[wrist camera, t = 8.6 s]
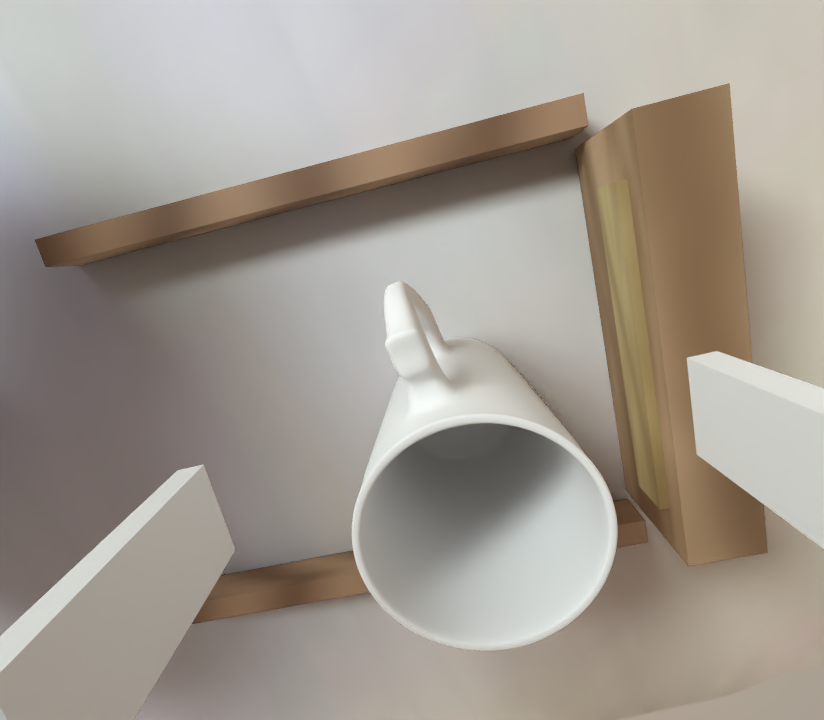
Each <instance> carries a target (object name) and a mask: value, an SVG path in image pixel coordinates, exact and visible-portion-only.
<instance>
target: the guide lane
mask: <svg viewBox="0 0 824 720" xmlns="http://www.w3.org/2000/svg"><path fill="white" fill-rule="evenodd" d="M587 126H588V120H587V113H586V107H585V100H584V93H582V94H578V95H575V96H571V97H567V98H563V99H560V100H556V101H552V102H548V103H545V104H541V105H537V106H533V107H530V108H526V109H522V110H518V111H515V112H511V113H507V114H503V115H500V116H496V117H492V118H488V119H485V120H481V121H477V122H474V123H470V124H466V125H462V126H459V127H455V128H451V129H447V130H444V131H440V132H436V133H432V134H429V135H425V136H421V137H417V138H414V139H410V140H406V141H402V142H399V143H395V144H391V145H387V146H384V147H380V148H376V149H373V150H369V151H365V152H361V153H358V154H354V155H350V156H346V157H343V158H339V159H335V160H331V161H328V162H324V163H320V164H316V165H313V166H309V167H305V168H301V169H298V170H294V171H290V172H286V173H283V174H279V175H275V176H272V177H268V178H264V179H260V180H257V181H253V182H249V183H245V184H242V185H238V186H234V187H230V188H227V189H223V190H219V191H215V192H212V193H208V194H204V195H200V196H197V197H193V198H189V199H185V200H182V201H178V202H174V203H171V204H167V205H163V206H159V207H156V208H152V209H148V210H144V211H141V212H137V213H133V214H129V215H126V216H122V217H118V218H114V219H111V220H107V221H103V222H99V223H96V224H92V225H88V226H84V227H81V228H77V229H73V230H70V231H66V232H62V233H58V234H55V235H51V236H47V237H43V238H40V239H36V240H35V242H36V244H37V246H38V249H39V251H40V254H41V256H42V259H43V261H44V264H45V266H46V267H54V266H79V265H83V264H86V263H90V262H94V261H98V260H102V259H106V258H109V257H113V256H117V255H121V254H125V253H129V252H133V251H136V250H140V249H144V248H148V247H152V246H156V245H160V244H163V243H167V242H171V241H175V240H179V239H183V238H187V237H190V236H194V235H198V234H202V233H206V232H210V231H214V230H217V229H221V228H225V227H229V226H233V225H237V224H241V223H244V222H248V221H252V220H256V219H260V218H264V217H268V216H271V215H275V214H279V213H283V212H287V211H291V210H294V209H298V208H302V207H306V206H310V205H314V204H318V203H321V202H325V201H329V200H333V199H337V198H341V197H345V196H348V195H352V194H356V193H360V192H364V191H368V190H372V189H375V188H379V187H383V186H387V185H391V184H395V183H399V182H402V181H406V180H410V179H414V178H418V177H422V176H426V175H429V174H433V173H437V172H441V171H445V170H449V169H453V168H456V167H460V166H464V165H468V164H472V163H476V162H480V161H483V160H487V159H491V158H495V157H499V156H503V155H506V154H510V153H514V152H518V151H522V150H526V149H530V148H533V147H537V146H541V145H545V144H549V143H553V142H557V141H560V140H564V139H568V138H572V137H574V136H575V135H577V134H578V133H579V132H580V131H582V130H583V129H584V128H585V127H587ZM613 503H614V506H615V511H616V517H617V527H618V537H617V547H616V548H618V547H623V546H629V545H635V544H640V543H646V542H648V538H647V531H646V524H645V520H644V519H643V517H642V516H641V515H640V514H639V512H638V511H637V510H636V509H635V507H634V506H633V505H632V504H631V502H630V501H629V500H628V499H625V500H620V501H614V502H613ZM368 592H369V590H368V589H367V587H366V585H365V583H364V581H363V579H362V577H361V575H360V572H359V570H358V567H357V564H356V561H355V557H354V552H353V551H349V552H344V553H339V554H333V555H328V556H323V557H318V558H312V559H307V560H302V561H296V562H291V563H286V564H280V565H275V566H270V567H265V568H259V569H254V570H249V571H243V572H238V573H233V574H227V575H222V576H220V577H219V579H218V580H217V582H216V584H215V585H214V587H213V589H212V590H211V592H210V594H209V595H208V597H207V599H206V600H205V602H204V604H203V605H202V607H201V609H200V611H199V612H198V614H197V616H196V617H195V619H194V621H193V622H192V624H195V623H201V622H206V621H212V620H218V619H223V618H229V617H234V616H240V615H245V614H251V613H256V612H262V611H268V610H273V609H279V608H284V607H290V606H295V605H301V604H307V603H312V602H318V601H323V600H329V599H334V598H340V597H345V596H351V595H357V594H362V593H368Z"/></svg>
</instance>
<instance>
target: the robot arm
mask: <svg viewBox="0 0 824 720" xmlns="http://www.w3.org/2000/svg"><path fill="white" fill-rule="evenodd" d="M687 366H688V376H689V385H690V395H691V405H692V414H693V424H694V433H695V443H696V453H697V455H698V456H699V457H701V458H702V459H703V460H705V461H706V462H708V463H709V464H710V465H712V466H713V467H714V468H716V469H717V470H718V471H720V472H721V473H722V474H724V475H725V476H726V477H728V478H729V479H730V480H732V481H733V482H734V483H736V484H737V485H738V486H740V487H741V488H742V489H744V490H745V491H746V492H748V493H749V494H750V495H752V496H753V497H754V498H756V499H757V500H758V501H760V502H761V503H762V504H764V505H765V506H766V507H768V508H769V509H770V510H772V511H773V512H775V513H776V514H777V515H779V516H780V517H781V518H783V519H784V520H785V521H787V522H788V523H789V524H791V525H792V526H793V527H795V528H796V529H797V530H799V531H800V532H801V533H803V534H804V535H805V536H807V537H808V538H809V539H811V540H812V541H813V542H815V543H816V544H817V545H819V546H820V547H821V548H823V549H824V388H821V387H818V386H815V385H813V384H810V383H807V382H804V381H801V380H798V379H795V378H793V377H790V376H787V375H784V374H781V373H778V372H776V371H773V370H770V369H767V368H764V367H761V366H758V365H756V364H753V363H750V362H747V361H744V360H741V359H738V358H736V357H733V356H730V355H727V354H724V353H721V352H718V351H715V352H710V353H706V354H701V355H697V356H692V357H688V358H687ZM235 550H236V549H235V547H234V544H233V541H232V539H231V536H230V533H229V531H228V528H227V525H226V522H225V520H224V517H223V514H222V512H221V509H220V506H219V504H218V501H217V498H216V496H215V493H214V490H213V488H212V485H211V482H210V480H209V477H208V474H207V472H206V469H205V466H204V464H203V465H199V466H194V467H190V468H185V469H181V470H177V471H176V472H175V473H174V474H173V475H172V476H171V477H170V478H169V479H168V480H167V481H166V482H164V483H163V484H162V485H161V486H160V487H159V488H158V489H157V490H156V491H155V492H154V493H153V494H152V495H151V496H149V497H148V498H147V499H146V500H145V501H144V502H143V503H142V504H141V505H140V506H139V507H138V508H137V509H136V510H134V511H133V512H132V513H131V514H130V515H129V516H128V517H127V518H126V519H125V520H124V521H123V522H122V523H121V524H119V525H118V526H117V527H116V528H115V529H114V530H113V531H112V532H111V533H110V534H109V535H108V536H107V537H106V538H105V539H103V540H102V541H101V542H100V543H99V544H98V545H97V546H96V547H95V548H94V549H93V550H92V551H91V552H90V553H88V554H87V555H86V556H85V557H84V558H83V559H82V560H81V561H80V562H79V563H78V564H77V565H76V566H75V567H73V568H72V569H71V570H70V571H69V572H68V573H67V574H66V575H65V576H64V577H63V578H62V579H61V580H60V581H58V582H57V583H56V584H55V585H54V586H53V587H52V588H51V589H50V590H49V591H48V592H47V593H46V594H45V595H43V596H42V597H41V598H40V599H39V600H38V601H37V602H36V603H35V604H34V605H33V606H32V607H31V608H30V609H29V610H27V611H26V612H25V613H24V614H23V615H22V616H21V617H20V618H19V619H18V620H17V621H16V622H15V623H14V624H12V625H11V626H10V627H9V628H8V629H7V630H6V631H5V632H4V633H3V634H2V635H1V636H0V720H134V719H135V718H136V716H137V714H138V712H139V711H140V709H141V707H142V706H143V704H144V702H145V701H146V699H147V697H148V696H149V694H150V692H151V691H152V689H153V687H154V686H155V684H156V682H157V681H158V679H159V677H160V676H161V674H162V672H163V671H164V669H165V667H166V666H167V664H168V662H169V661H170V659H171V657H172V656H173V654H174V652H175V651H176V649H177V647H178V646H179V644H180V642H181V641H182V639H183V637H184V636H185V634H186V632H187V631H188V629H189V627H190V626H191V624H192V622H193V621H194V619H195V617H196V616H197V614H198V612H199V611H200V609H201V607H202V605H203V604H204V602H205V600H206V599H207V597H208V595H209V594H210V592H211V590H212V589H213V587H214V585H215V584H216V582H217V580H218V579H219V577H220V575H221V574H222V572H223V570H224V569H225V567H226V565H227V564H228V562H229V560H230V559H231V557H232V555H233V554H234V552H235Z"/></svg>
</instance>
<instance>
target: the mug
mask: <svg viewBox="0 0 824 720" xmlns="http://www.w3.org/2000/svg"><path fill="white" fill-rule="evenodd" d="M384 316H385V326H386V334H387V340H386V342H385V348H386V350H387V352H388V354H389V357H390V359H391V361H392V363H393V365H394V367H395V369H396V370H397V372H398V374H399V377H398V380H397V382H396V385H395V387H394V390H393V393H392V396H391V399H390V402H389V405H388V408H387V411H386V414H385V417H384V420H383V422H382V425H381V428H380V431H379V434H378V437H377V440H376V443H375V445H374V448H373V451H372V454H371V457H370V460H369V463H368V466H367V469H366V472H365V475H364V479H363V482H362V486H361V490H360V492H359V495H358V498H357V501H356V504H355V508H354V513H353V520H352V545H353V552H354V557H355V561H356V564H357V567H358V570H359V572H360V575H361V577H362V579H363V581H364V583H365V585H366V587H367V589H368V590H369V592H370V593H371V595H372V596H373V597H374V599H375V600H376V601H377V603H378V604H379V605H380V606H381V607H382V608H383V609H384V610H385V611H386V612H387V613H388V614H389V615H390V616H391V617H392V618H393V619H395V620H396V621H397V622H398V623H400V624H401V625H403V626H404V627H405V628H407V629H409V630H410V631H412V632H414V633H416V634H417V635H419V636H421V637H423V638H426V639H428V640H431V641H433V642H436V643H439V644H442V645H445V646H449V647H453V648H458V649H465V650H474V651H497V650H507V649H513V648H518V647H522V646H526V645H529V644H532V643H535V642H538V641H540V640H542V639H545V638H547V637H549V636H551V635H552V634H554V633H556V632H558V631H559V630H561V629H562V628H564V627H565V626H567V625H568V624H570V623H571V622H572V621H573V620H575V619H576V618H577V617H578V616H579V615H580V614H581V613H582V612H583V611H584V610H585V609H586V608H587V607H588V606H589V605H590V604H591V603H592V601H593V600H594V599H595V597H596V596H597V595H598V593H599V592H600V590H601V588H602V587H603V585H604V583H605V581H606V579H607V577H608V575H609V573H610V570H611V567H612V564H613V561H614V557H615V553H616V547H617V537H618V527H617V517H616V511H615V506H614V503H613V500H612V497H611V494H610V491H609V489H608V487H607V485H606V483H605V481H604V479H603V477H602V475H601V474H600V472H599V471H598V469H597V468H596V466H595V465H594V464H593V463H592V461H591V460H590V459H589V458H588V457H587V456H586V455H585V454H584V452H583V451H582V449H581V448H580V446H579V445H578V444H577V442H576V441H575V440H574V438H573V437H572V436H571V435H570V433H569V432H568V431H567V430H566V429H565V427H564V426H563V425H562V424H561V423H560V422H559V420H558V419H557V418H556V417H555V416H554V414H553V413H552V412H551V411H550V410H549V409H548V407H547V406H546V405H545V404H544V403H543V401H542V400H541V399H540V398H539V397H538V396H537V394H536V393H535V392H534V391H533V390H532V388H531V387H530V386H529V385H528V383H527V382H526V381H525V380H524V379H523V377H522V376H521V375H520V374H519V373H518V371H517V370H516V369H515V368H514V367H513V366H512V365H511V364H510V363H509V361H508V360H507V359H506V358H505V357H504V356H503V355H502V354H501V353H500V352H499V351H497V350H496V349H495V348H493V347H492V346H490V345H488V344H486V343H484V342H482V341H479V340H476V339H471V338H465V337H451V338H445V339H443V337H442V335H441V333H440V331H439V328H438V326H437V324H436V321H435V319H434V316H433V314H432V312H431V310H430V308H429V307H428V305H427V304H426V303H425V301H424V300H423V299H422V298H421V297H420V295H419V294H418V293H417V292H416V291H415V290H414V289H413V288H412V287H410V286H409V285H408V284H406V283H405V282H395V283H393V284H391V285H389V286H388V287H387V289H386V290H385V295H384Z"/></svg>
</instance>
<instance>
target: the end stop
mask: <svg viewBox="0 0 824 720" xmlns="http://www.w3.org/2000/svg"><path fill="white" fill-rule="evenodd" d="M575 152H576V159H577V165H578V172H579V178H580V185H581V192H582V198H583V205H584V212H585V218H586V225H587V231H588V238H589V245H590V251H591V258H592V265H593V271H594V278H595V284H596V291H597V298H598V304H599V311H600V318H601V324H602V331H603V337H604V344H605V351H606V357H607V364H608V371H609V377H610V384H611V391H612V397H613V404H614V410H615V417H616V424H617V430H618V437H619V444H620V450H621V457H622V463H623V470H624V477H625V483H626V490H627V492H628V493H629V494H630V495H631V496H632V498H633V499H634V500H635V501H636V503H637V504H638V505H639V506H640V507H641V509H642V510H643V511H644V512H645V514H646V515H647V516H648V517H649V518H650V520H651V521H652V522H653V523H654V525H655V526H656V527H657V528H658V529H659V531H660V532H661V533H662V534H663V536H664V537H665V538H666V539H667V540H668V542H669V543H670V544H671V545H672V546H673V548H674V549H675V550H676V551H677V553H678V554H679V555H680V556H681V557H682V559H683V560H684V561H685V562H686V564H687V565H688V566H693V565H699V564H704V563H710V562H716V561H722V560H727V559H733V558H739V557H745V556H750V555H756V554H762V553H768V552H767V539H766V527H765V515H764V504H762V503H761V502H760V501H758V500H757V499H756V498H754V497H753V496H752V495H750V494H749V493H748V492H746V491H745V490H744V489H742V488H741V487H740V486H738V485H737V484H736V483H734V482H733V481H732V480H730V479H729V478H728V477H726V476H725V475H724V474H722V473H721V472H720V471H718V470H717V469H716V468H714V467H713V466H712V465H710V464H709V463H708V462H706V461H705V460H703V459H702V458H701V457H699V456H698V455H697V453H696V443H695V433H694V424H693V414H692V405H691V395H690V385H689V376H688V366H687V358H688V357H692V356H697V355H701V354H706V353H710V352H715V351H718V352H721V353H724V354H727V355H730V356H733V357H736V358H738V359H741V360H744V361H747V362H750V363H752V355H751V343H750V330H749V318H748V306H747V294H746V281H745V269H744V257H743V244H742V232H741V220H740V207H739V195H738V183H737V171H736V158H735V146H734V134H733V121H732V109H731V97H730V85H729V84H725V85H721V86H718V87H714V88H710V89H706V90H702V91H699V92H695V93H691V94H687V95H683V96H679V97H676V98H672V99H668V100H664V101H660V102H657V103H653V104H649V105H645V106H641V107H637V108H634V109H631V110H630V111H628V112H627V113H625V114H624V115H623V116H621V117H620V118H618V119H617V120H616V121H614V122H613V123H611V124H610V125H608V126H607V127H606V128H604V129H603V130H601V131H600V132H599V133H597V134H596V135H594V136H593V137H591V138H590V139H589V140H587V141H586V142H584V143H583V144H581V145H580V146H579V147H577V148H576V149H575Z"/></svg>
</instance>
